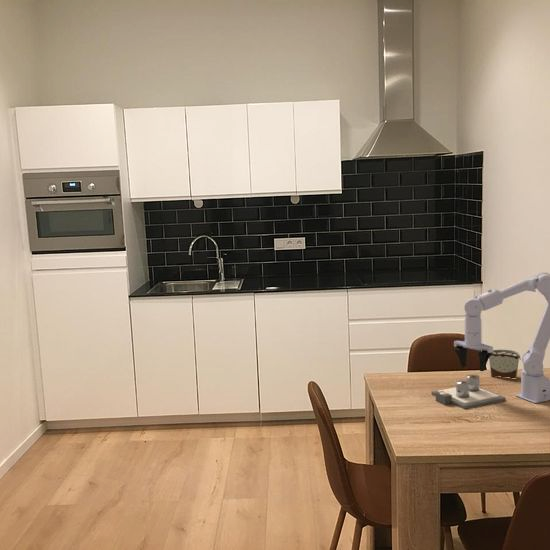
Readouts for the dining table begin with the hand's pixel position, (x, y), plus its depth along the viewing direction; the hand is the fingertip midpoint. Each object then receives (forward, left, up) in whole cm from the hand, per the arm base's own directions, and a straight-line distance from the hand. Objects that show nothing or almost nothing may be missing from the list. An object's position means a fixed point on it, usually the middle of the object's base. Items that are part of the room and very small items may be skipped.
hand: (473, 368), depth 225 cm
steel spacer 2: (0, 0, -8) cm, 8 cm away
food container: (+11, -25, -10) cm, 29 cm away
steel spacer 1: (-4, +8, -8) cm, 12 cm away
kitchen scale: (-2, +5, -9) cm, 11 cm away
